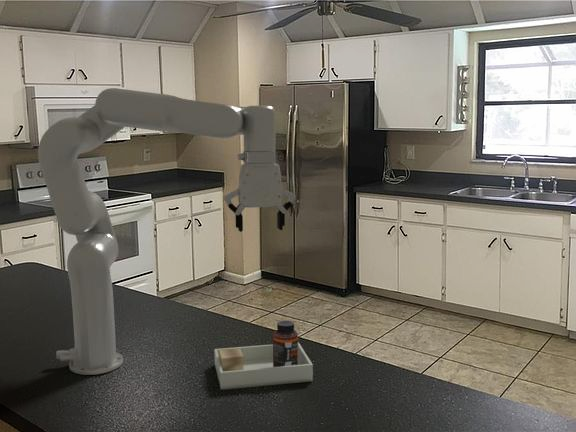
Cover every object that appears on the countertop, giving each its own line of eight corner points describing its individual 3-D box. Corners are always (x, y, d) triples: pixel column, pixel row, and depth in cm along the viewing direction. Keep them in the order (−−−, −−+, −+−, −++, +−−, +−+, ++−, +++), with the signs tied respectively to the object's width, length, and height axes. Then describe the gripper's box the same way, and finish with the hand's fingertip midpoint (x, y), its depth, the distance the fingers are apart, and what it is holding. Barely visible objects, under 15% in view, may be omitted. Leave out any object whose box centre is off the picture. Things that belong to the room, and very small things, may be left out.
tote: (220, 389, 138) (220, 372, 138) (214, 364, 152) (214, 349, 151) (312, 381, 143) (312, 364, 142) (298, 357, 156) (298, 342, 156)
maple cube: (222, 378, 142) (221, 358, 142) (219, 370, 147) (219, 350, 146) (243, 376, 144) (243, 356, 143) (240, 368, 148) (240, 348, 147)
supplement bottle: (295, 374, 145) (295, 328, 143) (270, 372, 146) (270, 326, 144) (299, 364, 151) (300, 319, 149) (276, 361, 152) (276, 317, 150)
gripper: (224, 160, 140) (226, 234, 143) (299, 159, 144) (298, 231, 147) (221, 158, 148) (222, 228, 150) (292, 156, 151) (291, 225, 154)
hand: (260, 229), depth 149 cm, fingers open, 9 cm apart
